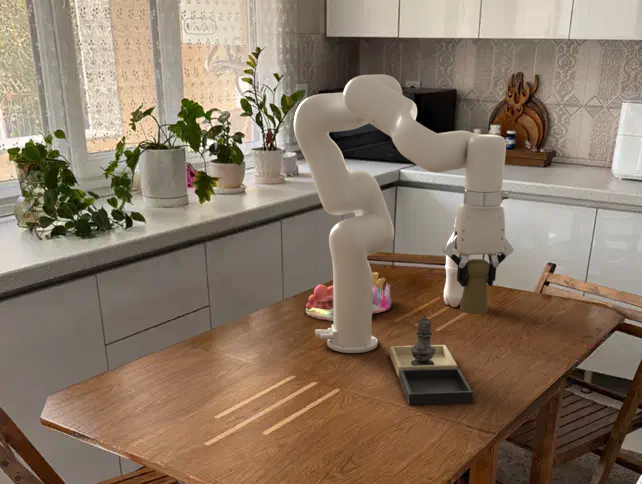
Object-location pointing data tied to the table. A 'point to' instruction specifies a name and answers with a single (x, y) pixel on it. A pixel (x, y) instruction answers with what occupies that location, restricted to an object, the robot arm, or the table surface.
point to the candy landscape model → (323, 299)
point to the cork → (475, 287)
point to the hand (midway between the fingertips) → (475, 283)
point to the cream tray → (404, 357)
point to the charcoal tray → (435, 386)
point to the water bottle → (453, 280)
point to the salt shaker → (423, 344)
